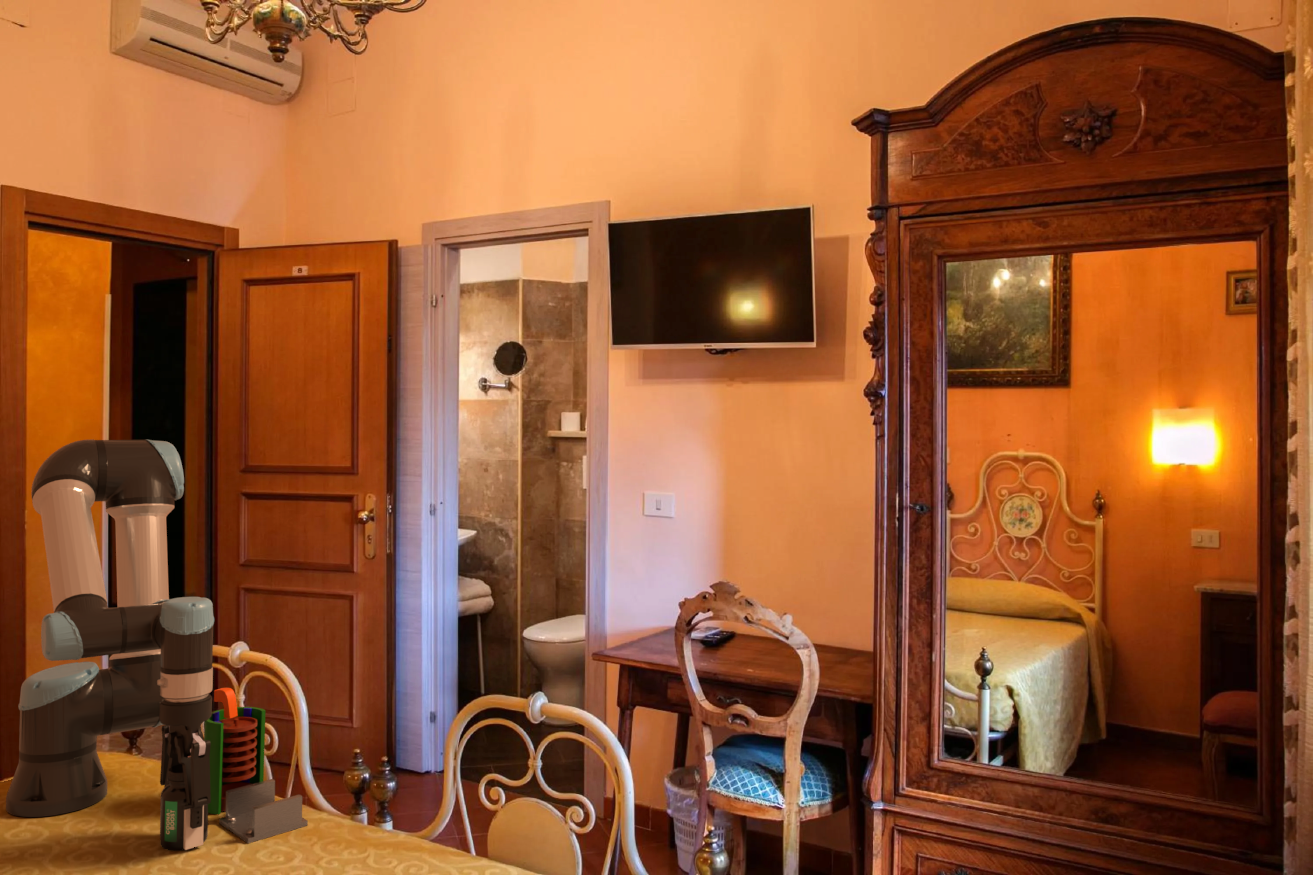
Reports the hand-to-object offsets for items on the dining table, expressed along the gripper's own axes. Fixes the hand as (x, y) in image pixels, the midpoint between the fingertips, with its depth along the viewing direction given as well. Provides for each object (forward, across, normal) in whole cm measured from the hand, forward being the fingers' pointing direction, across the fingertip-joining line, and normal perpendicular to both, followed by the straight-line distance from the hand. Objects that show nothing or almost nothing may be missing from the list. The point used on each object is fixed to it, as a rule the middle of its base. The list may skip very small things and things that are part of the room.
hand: (184, 838), depth 151 cm
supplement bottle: (+1, 0, 0) cm, 1 cm away
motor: (+1, -11, +12) cm, 16 cm away
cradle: (+1, +2, +12) cm, 12 cm away
